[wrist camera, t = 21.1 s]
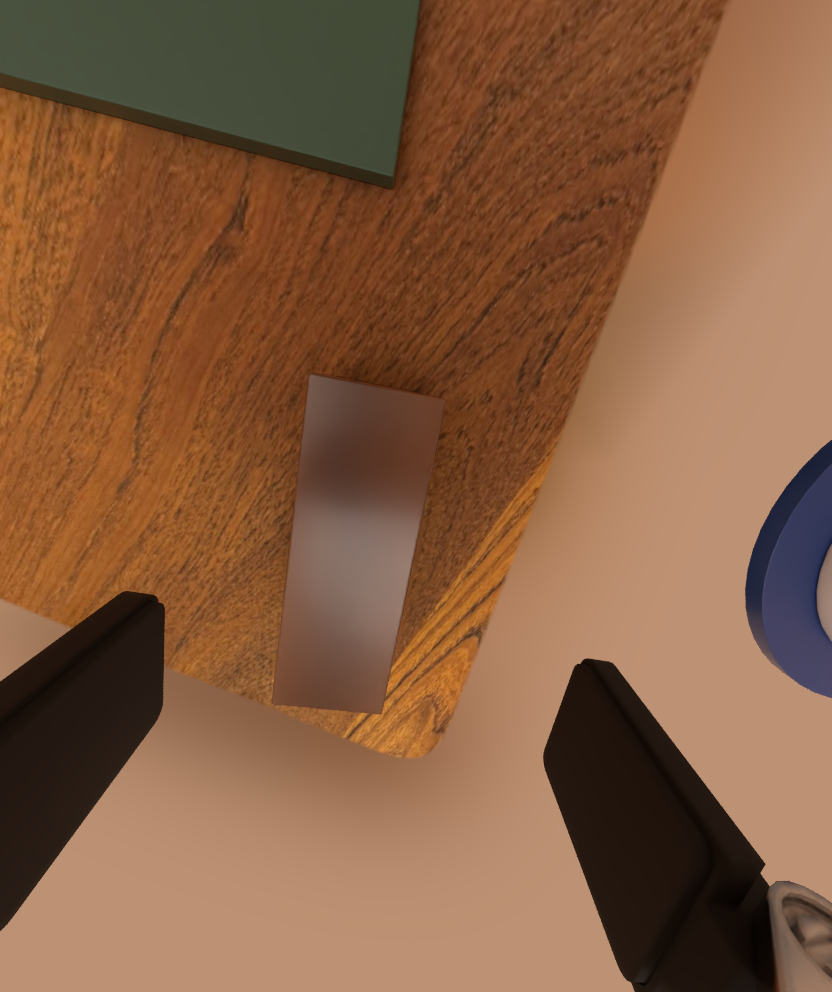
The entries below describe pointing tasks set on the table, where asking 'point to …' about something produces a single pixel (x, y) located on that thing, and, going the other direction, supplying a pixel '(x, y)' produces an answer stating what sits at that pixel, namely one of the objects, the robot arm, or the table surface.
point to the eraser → (352, 540)
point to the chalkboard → (229, 71)
